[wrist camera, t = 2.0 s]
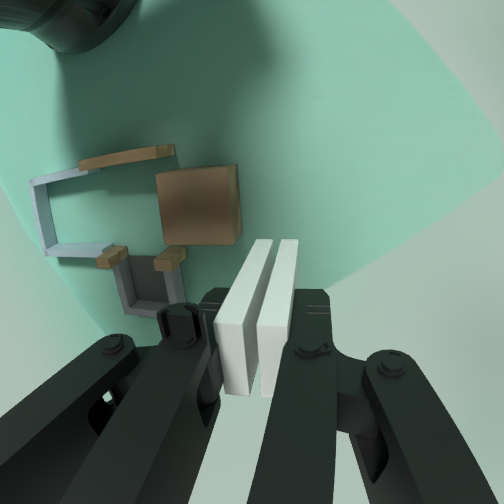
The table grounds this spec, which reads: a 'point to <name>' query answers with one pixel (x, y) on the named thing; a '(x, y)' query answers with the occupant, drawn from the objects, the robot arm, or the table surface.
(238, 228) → the block
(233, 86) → the table surface
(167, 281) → the trap pit
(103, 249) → the dock
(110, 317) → the table surface
